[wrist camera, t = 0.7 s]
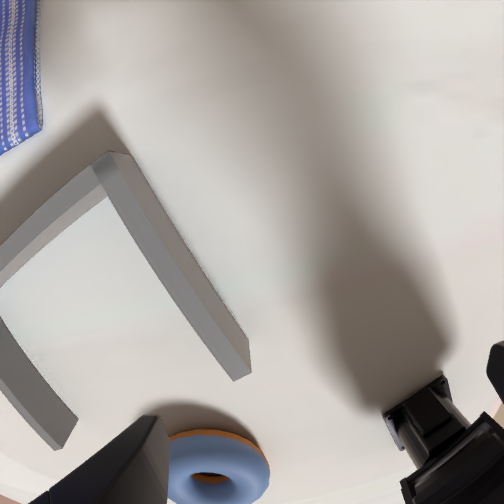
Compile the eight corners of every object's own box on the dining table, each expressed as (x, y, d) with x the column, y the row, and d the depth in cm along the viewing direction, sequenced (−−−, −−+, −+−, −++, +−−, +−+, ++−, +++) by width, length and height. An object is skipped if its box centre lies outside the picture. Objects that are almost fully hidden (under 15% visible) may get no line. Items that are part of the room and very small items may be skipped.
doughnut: (241, 407, 22) (238, 453, 18) (285, 471, 25) (288, 510, 21) (136, 428, 24) (121, 467, 19) (192, 486, 26) (186, 521, 22)
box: (248, 340, 21) (251, 372, 17) (70, 422, 22) (54, 450, 19) (132, 155, 18) (108, 150, 14) (-24, 292, 19) (-53, 308, 16)
